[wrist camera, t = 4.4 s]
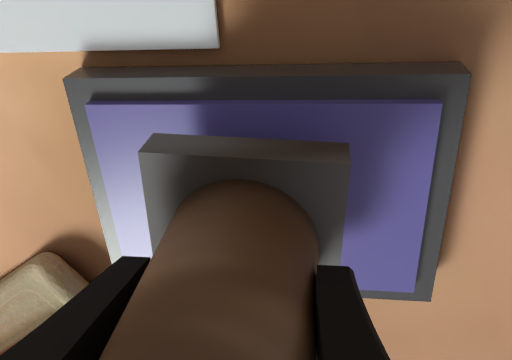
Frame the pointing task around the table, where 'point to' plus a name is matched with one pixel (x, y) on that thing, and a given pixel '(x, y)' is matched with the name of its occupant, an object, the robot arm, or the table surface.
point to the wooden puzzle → (35, 295)
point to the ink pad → (292, 128)
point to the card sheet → (107, 25)
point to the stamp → (234, 247)
